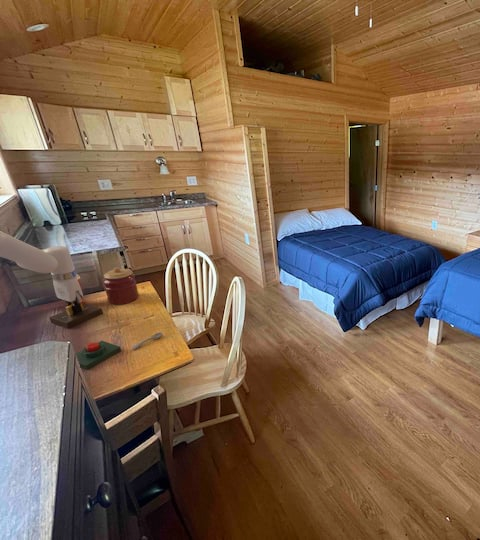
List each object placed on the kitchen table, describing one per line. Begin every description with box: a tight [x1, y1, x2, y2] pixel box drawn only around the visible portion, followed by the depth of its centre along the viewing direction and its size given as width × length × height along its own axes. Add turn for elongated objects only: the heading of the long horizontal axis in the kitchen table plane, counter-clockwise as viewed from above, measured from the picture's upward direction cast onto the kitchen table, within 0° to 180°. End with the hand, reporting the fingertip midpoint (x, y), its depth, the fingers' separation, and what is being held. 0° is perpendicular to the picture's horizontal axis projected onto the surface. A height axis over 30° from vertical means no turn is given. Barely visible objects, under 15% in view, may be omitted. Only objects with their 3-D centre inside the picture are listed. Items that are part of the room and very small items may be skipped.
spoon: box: [130, 332, 163, 351], centre depth 125 cm, size 3×12×2 cm, turn 153°
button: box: [85, 342, 100, 352], centre depth 113 cm, size 4×4×2 cm
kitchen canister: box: [102, 266, 140, 305], centre depth 152 cm, size 13×13×18 cm
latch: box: [65, 302, 84, 316], centre depth 135 cm, size 6×2×4 cm, turn 162°
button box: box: [75, 340, 122, 371], centre depth 114 cm, size 12×10×4 cm
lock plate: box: [48, 303, 104, 330], centre depth 136 cm, size 14×11×3 cm
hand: (75, 311), depth 135 cm, fingers closed on latch
